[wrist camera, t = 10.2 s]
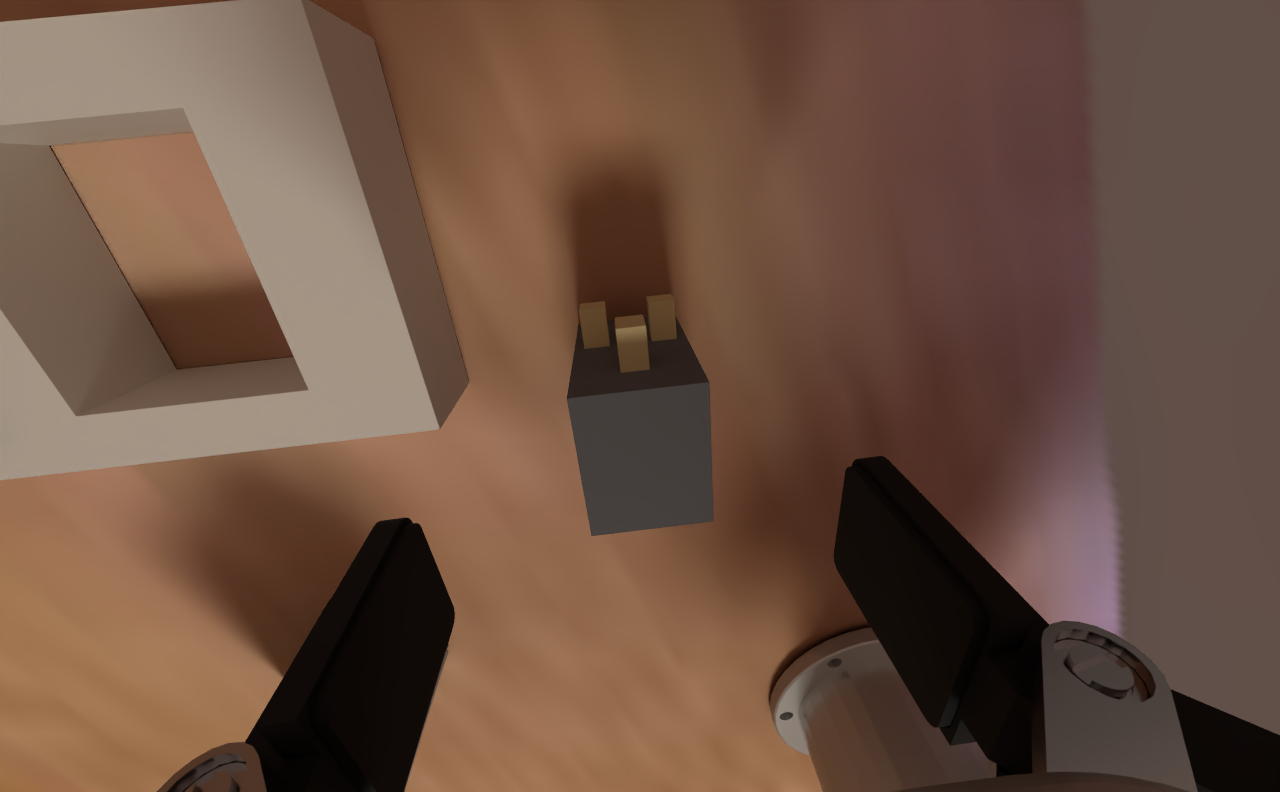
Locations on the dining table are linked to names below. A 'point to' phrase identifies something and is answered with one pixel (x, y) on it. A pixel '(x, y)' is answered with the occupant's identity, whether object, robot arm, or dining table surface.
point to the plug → (640, 420)
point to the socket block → (265, 219)
